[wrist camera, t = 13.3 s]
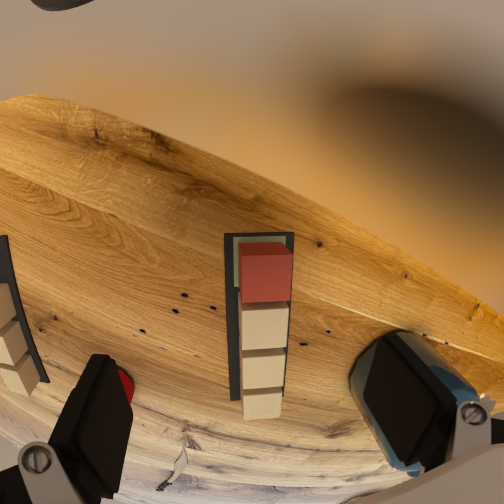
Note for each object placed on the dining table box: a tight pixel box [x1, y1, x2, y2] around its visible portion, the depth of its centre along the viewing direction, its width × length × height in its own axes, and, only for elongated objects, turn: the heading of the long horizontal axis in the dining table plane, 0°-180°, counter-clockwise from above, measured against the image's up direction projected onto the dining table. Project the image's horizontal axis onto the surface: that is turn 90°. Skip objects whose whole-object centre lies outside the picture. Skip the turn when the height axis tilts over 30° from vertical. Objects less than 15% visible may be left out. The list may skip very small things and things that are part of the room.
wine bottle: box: [350, 332, 481, 477], centre depth 23 cm, size 14×13×30 cm
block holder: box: [0, 235, 50, 396], centre depth 26 cm, size 22×7×5 cm, turn 0°
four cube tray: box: [224, 232, 294, 420], centre depth 30 cm, size 22×7×5 cm, turn 0°
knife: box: [156, 447, 188, 491], centre depth 39 cm, size 19×2×1 cm, turn 154°
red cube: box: [238, 242, 293, 303], centre depth 28 cm, size 4×4×4 cm
